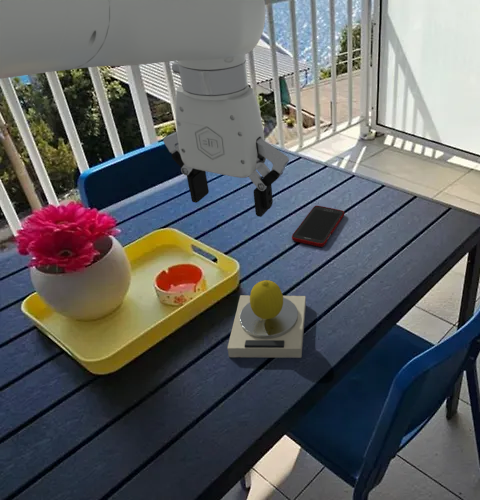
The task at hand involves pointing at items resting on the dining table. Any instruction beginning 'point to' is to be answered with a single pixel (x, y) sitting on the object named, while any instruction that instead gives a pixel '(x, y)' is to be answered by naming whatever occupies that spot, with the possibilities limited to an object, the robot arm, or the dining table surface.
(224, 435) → the dining table surface
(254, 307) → the lemon
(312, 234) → the cell phone
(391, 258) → the dining table surface
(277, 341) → the scale
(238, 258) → the dining table surface
